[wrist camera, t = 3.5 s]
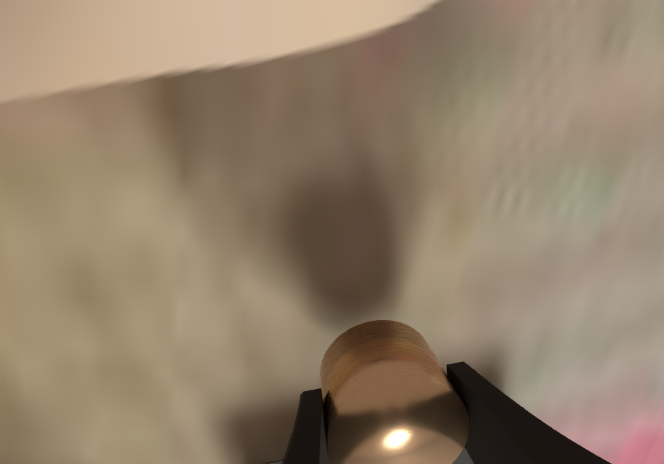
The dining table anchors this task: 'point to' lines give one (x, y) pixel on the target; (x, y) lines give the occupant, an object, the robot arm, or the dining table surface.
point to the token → (389, 399)
